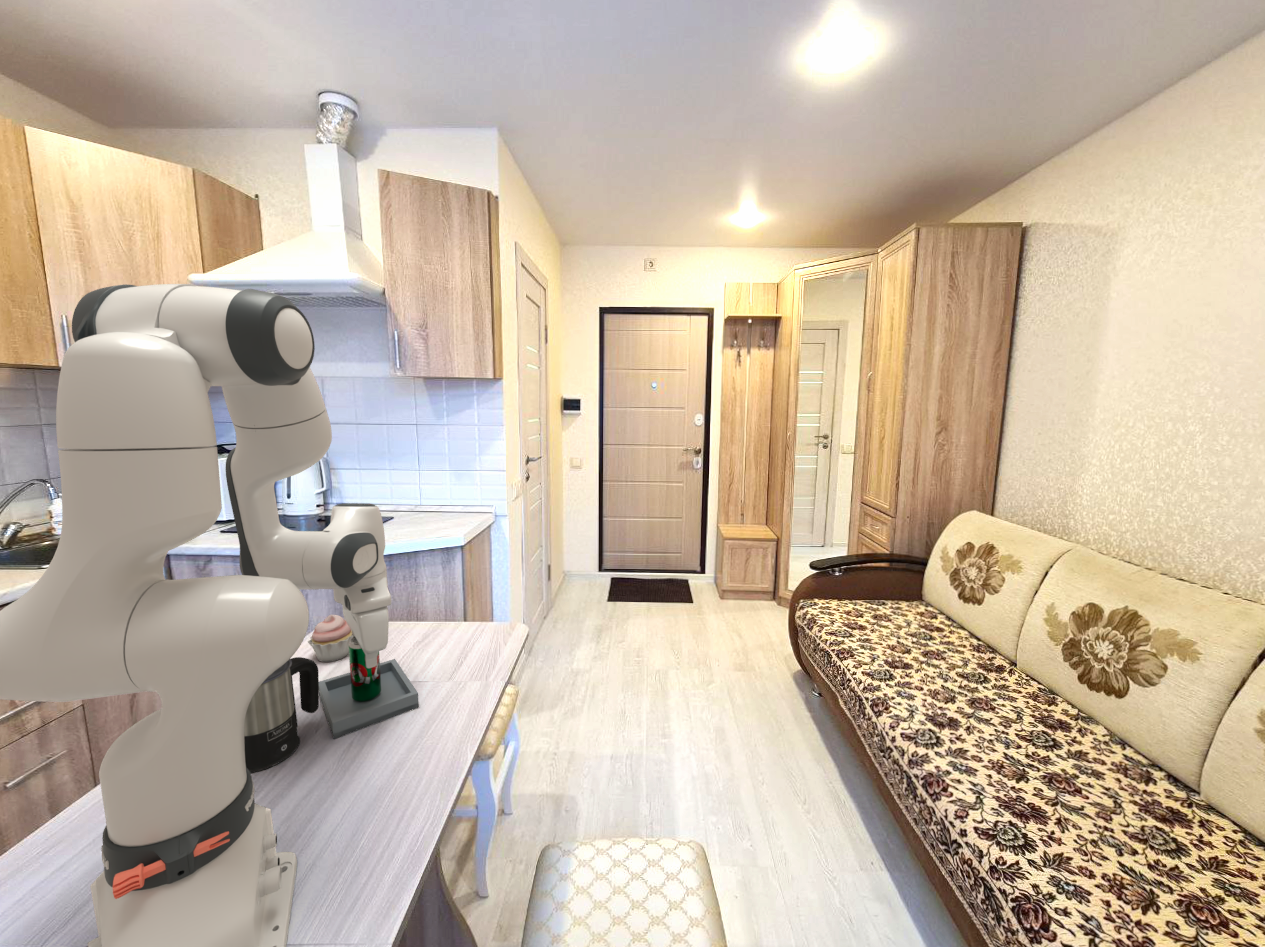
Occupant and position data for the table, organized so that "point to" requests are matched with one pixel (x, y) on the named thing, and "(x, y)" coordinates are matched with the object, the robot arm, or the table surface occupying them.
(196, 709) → the robot arm
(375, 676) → the soda can
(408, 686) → the tray
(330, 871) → the table surface
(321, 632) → the cupcake
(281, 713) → the milk frother
